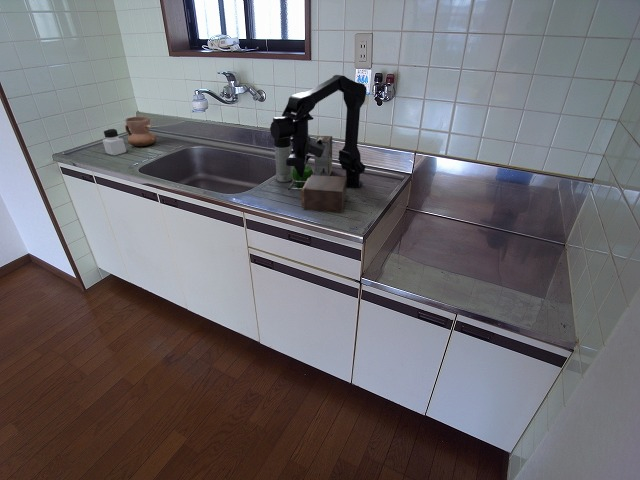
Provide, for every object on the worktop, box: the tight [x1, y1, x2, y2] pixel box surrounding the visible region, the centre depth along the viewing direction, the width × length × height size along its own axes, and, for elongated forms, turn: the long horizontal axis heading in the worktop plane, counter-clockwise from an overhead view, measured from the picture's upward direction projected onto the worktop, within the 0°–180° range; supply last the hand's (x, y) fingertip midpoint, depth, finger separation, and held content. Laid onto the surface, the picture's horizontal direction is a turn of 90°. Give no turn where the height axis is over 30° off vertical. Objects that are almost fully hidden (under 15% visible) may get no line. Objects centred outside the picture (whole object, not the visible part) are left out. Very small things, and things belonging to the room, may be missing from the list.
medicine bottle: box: [101, 128, 127, 156], centre depth 190 cm, size 7×7×12 cm
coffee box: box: [313, 135, 333, 176], centre depth 161 cm, size 9×6×16 cm
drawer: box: [287, 178, 310, 208], centre depth 137 cm, size 18×13×6 cm
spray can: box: [273, 137, 293, 183], centre depth 154 cm, size 7×7×20 cm
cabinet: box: [303, 174, 347, 213], centre depth 137 cm, size 14×14×8 cm
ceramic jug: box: [124, 116, 157, 148], centre depth 202 cm, size 18×14×14 cm
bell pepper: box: [292, 165, 314, 189], centre depth 150 cm, size 8×8×10 cm
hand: (301, 177), depth 135 cm, fingers closed
